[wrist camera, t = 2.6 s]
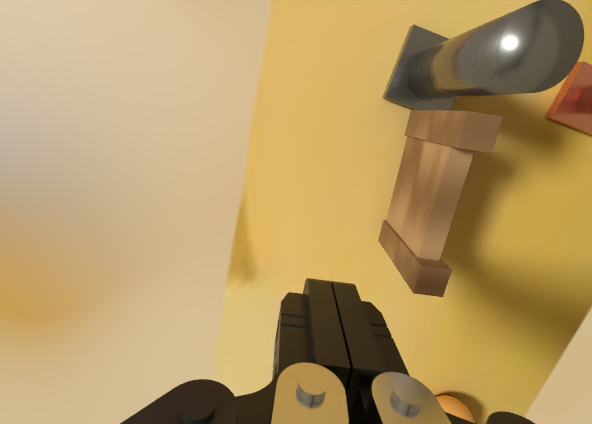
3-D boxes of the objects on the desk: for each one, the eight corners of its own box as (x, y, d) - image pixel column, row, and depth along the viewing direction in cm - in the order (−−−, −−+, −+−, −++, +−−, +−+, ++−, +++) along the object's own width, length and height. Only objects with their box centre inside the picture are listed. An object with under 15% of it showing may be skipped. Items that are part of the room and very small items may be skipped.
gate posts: (421, -1, 19) (545, -105, 10) (621, 82, 21) (892, 60, 12) (382, 97, 21) (456, 89, 12) (570, 167, 23) (769, 209, 13)
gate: (410, 110, 20) (468, 110, 14) (434, 113, 21) (503, 116, 14) (378, 240, 23) (413, 293, 17) (399, 243, 23) (442, 297, 17)
